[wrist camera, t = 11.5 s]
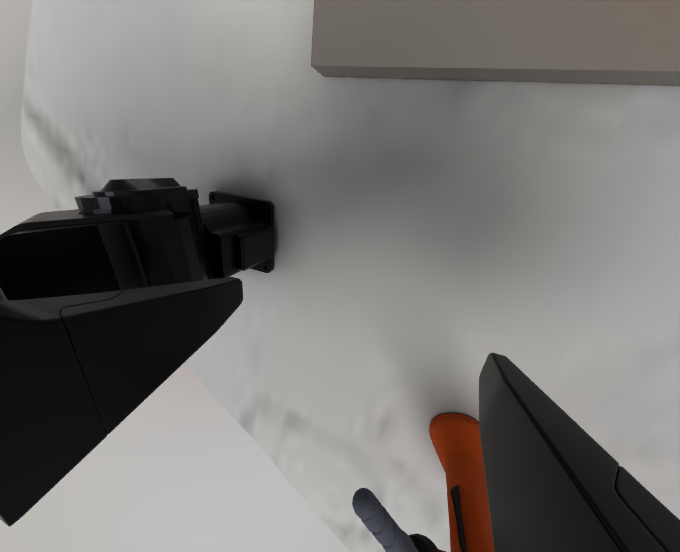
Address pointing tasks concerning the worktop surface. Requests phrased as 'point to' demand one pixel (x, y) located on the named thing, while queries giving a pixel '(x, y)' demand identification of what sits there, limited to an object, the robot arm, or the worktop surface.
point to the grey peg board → (500, 40)
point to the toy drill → (462, 492)
